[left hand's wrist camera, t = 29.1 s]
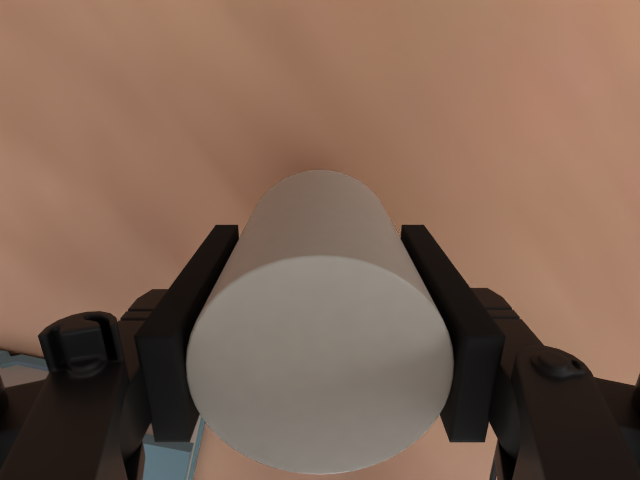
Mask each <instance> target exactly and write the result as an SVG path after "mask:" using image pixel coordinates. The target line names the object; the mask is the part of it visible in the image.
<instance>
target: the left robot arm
mask: <svg viewBox="0 0 640 480" xmlns="http://www.w3.org/2000/svg"><path fill="white" fill-rule="evenodd" d="M238 240H239V233H238V225H216V226H215V227H214V228H213V230H212V231H211V232H210V234H209V235H208V236H207V238H206V239H205V240H204V242H203V243H202V245H201V246H200V247H199V249H198V250H197V251H196V253H195V254H194V255H193V257H192V258H191V259H190V261H189V262H188V263H187V265H186V266H185V268H184V269H183V270H182V272H181V273H180V274H179V276H178V277H177V278H176V280H175V281H174V282H173V284H172V285H171V287H170V288H169V289H152V290H151V291H149V292H147V293H146V294H144V295H142V296H141V297H139V298H137V300H136V301H135V302H134V303H133V304H132V305H131V307H130V308H129V309H128V312H125V314H124V315H123V316H122V317H121V318H120V319H121V320H120V321H118V322H117V318H116V317H115V316H113V315H112V314H111V313H106V312H101V311H96V312H84V313H79V314H75V315H71V316H68V317H66V318H63V319H60V320H58V321H56V322H54V323H53V324H51V325H49V326H48V327H46V328H45V329H44V330H43V331H42V332H41V333H40V334H39V335H38V338H39V341H40V344H41V348H42V351H43V354H44V358H45V361H46V364H47V368H48V371H49V373H48V375H47V377H46V379H43V380H40V381H35V382H30V383H25V384H20V385H15V386H10V387H4V384H3V381H2V378H1V375H0V480H143V474H144V466H145V458H146V457H145V450H144V445H143V438H144V436H145V434H146V432H147V430H148V428H149V426H150V424H151V425H152V430H153V435H154V440H155V442H190V440H191V437H192V435H193V432H194V429H195V426H196V424H197V421H198V418H199V415H200V413H199V411H198V410H197V408H196V406H195V404H194V401H193V399H192V397H191V394H190V391H189V386H188V382H187V377H186V364H185V363H186V352H187V346H188V342H189V338H190V334H191V332H192V330H193V327H194V325H195V323H196V321H197V319H198V317H199V315H200V313H201V311H202V309H203V307H204V305H205V303H206V301H207V299H208V297H209V296H210V294H211V292H212V290H213V288H214V286H215V284H216V282H217V280H218V278H219V276H220V274H221V273H222V271H223V269H224V267H225V265H226V263H227V261H228V259H229V257H230V255H231V253H232V251H233V250H234V248H235V246H236V244H237V242H238ZM401 241H402V243H403V245H404V247H405V248H406V250H407V252H408V254H409V256H410V258H411V260H412V262H413V264H414V266H415V268H416V269H417V271H418V273H419V275H420V277H421V279H422V281H423V283H424V285H425V287H426V289H427V290H428V292H429V294H430V296H431V298H432V300H433V302H434V304H435V306H436V308H437V309H438V311H439V313H440V315H441V317H442V319H443V321H444V323H445V326H446V328H447V330H448V332H449V335H450V339H451V343H452V347H453V355H454V373H453V380H452V385H451V389H450V393H449V395H448V398H447V401H446V403H445V405H444V407H443V409H442V411H441V412H440V416H441V419H442V422H443V425H444V427H445V430H446V433H447V436H448V438H449V441H450V442H485V439H486V433H487V428H488V423H489V422H490V424H491V426H492V428H493V430H494V432H495V434H496V436H497V438H498V440H497V445H496V450H495V454H494V459H493V464H492V468H491V473H490V479H489V480H496V476H497V480H640V374H639V377H638V380H637V383H636V385H635V386H634V385H629V384H624V383H619V382H614V381H609V380H604V379H600V378H596V377H593V375H592V373H591V371H590V370H589V369H588V367H587V366H586V365H585V364H584V363H583V362H582V361H580V360H579V359H577V358H576V357H575V356H573V355H571V354H569V353H566V352H564V351H562V350H560V349H556V348H552V347H548V346H544V345H543V344H542V343H541V341H540V340H539V339H538V338H537V337H536V336H535V334H534V333H533V332H532V331H531V330H530V329H529V327H528V326H527V325H526V324H525V323H524V322H523V320H522V319H520V318H519V316H518V315H517V313H516V312H515V311H514V310H512V308H511V306H510V305H509V304H508V303H507V302H506V301H505V299H504V298H503V297H501V296H500V295H498V294H496V293H495V292H493V291H491V290H490V289H488V288H470V287H469V286H468V284H467V283H466V282H465V280H464V279H463V278H462V276H461V275H460V273H459V272H458V271H457V269H456V268H455V267H454V265H453V264H452V263H451V261H450V260H449V259H448V257H447V256H446V254H445V253H444V252H443V250H442V249H441V248H440V246H439V245H438V244H437V242H436V241H435V240H434V238H433V237H432V235H431V234H430V233H429V231H428V230H427V229H426V227H425V226H424V225H402V229H401Z"/></svg>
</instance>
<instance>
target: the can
mask: <svg viewBox="0 0 640 480" xmlns="http://www.w3.org/2000/svg"><path fill="white" fill-rule="evenodd" d="M185 364H186V377H187V382H188V386H189V391H190V394H191V397H192V399H193V401H194V404H195V406H196V408H197V410H198V411H199V413H200V415H201V417H202V418H203V420H204V421H205V422H206V423H207V425H208V426H209V427H210V428H211V430H212V431H213V432H214V433H215V434H216V435H217V436H218V437H219V438H220V439H221V440H223V441H224V442H225V443H227V444H228V445H229V446H230V447H232V448H233V449H235V450H236V451H238V452H240V453H241V454H243V455H244V456H246V457H248V458H250V459H253V460H255V461H257V462H259V463H261V464H264V465H267V466H270V467H273V468H276V469H281V470H285V471H289V472H296V473H303V474H337V473H344V472H350V471H355V470H359V469H363V468H367V467H369V466H372V465H375V464H378V463H381V462H383V461H385V460H387V459H389V458H391V457H393V456H395V455H397V454H398V453H400V452H402V451H403V450H405V449H407V448H408V447H409V446H410V445H412V444H413V443H414V442H416V441H417V440H418V439H419V438H420V437H421V436H422V435H423V434H424V433H425V432H426V431H427V430H428V429H429V428H430V427H431V425H432V424H433V423H434V422H435V420H436V419H437V418H438V416H439V414H440V412H441V411H442V409H443V407H444V405H445V403H446V401H447V398H448V395H449V393H450V389H451V385H452V380H453V373H454V355H453V347H452V343H451V339H450V335H449V332H448V330H447V328H446V326H445V323H444V321H443V319H442V317H441V315H440V313H439V311H438V309H437V308H436V306H435V304H434V302H433V300H432V298H431V296H430V294H429V292H428V290H427V289H426V287H425V285H424V283H423V281H422V279H421V277H420V275H419V273H418V271H417V269H416V268H415V266H414V264H413V262H412V260H411V258H410V256H409V254H408V252H407V250H406V248H405V247H404V245H403V243H402V241H401V239H400V237H399V235H398V233H397V231H396V229H395V228H394V226H393V224H392V222H391V220H390V218H389V216H388V214H387V212H386V210H385V208H384V207H383V205H382V203H381V202H380V200H379V199H378V197H377V196H376V195H375V194H374V193H373V191H372V190H370V189H369V188H368V187H367V186H366V185H365V184H363V183H362V182H360V181H359V180H357V179H355V178H353V177H351V176H349V175H346V174H343V173H340V172H336V171H331V170H308V171H303V172H299V173H296V174H293V175H290V176H288V177H286V178H284V179H282V180H281V181H279V182H278V183H276V184H275V185H274V186H272V187H271V188H270V189H269V190H268V191H267V192H266V193H265V194H264V196H263V197H262V198H261V199H260V201H259V202H258V204H257V206H256V207H255V209H254V211H253V213H252V215H251V217H250V219H249V221H248V223H247V225H246V227H245V228H244V230H243V232H242V234H241V236H240V238H239V240H238V242H237V244H236V246H235V248H234V250H233V251H232V253H231V255H230V257H229V259H228V261H227V263H226V265H225V267H224V269H223V271H222V273H221V274H220V276H219V278H218V280H217V282H216V284H215V286H214V288H213V290H212V292H211V294H210V296H209V297H208V299H207V301H206V303H205V305H204V307H203V309H202V311H201V313H200V315H199V317H198V319H197V321H196V323H195V325H194V327H193V330H192V332H191V334H190V338H189V342H188V346H187V352H186V363H185Z"/></svg>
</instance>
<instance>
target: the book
mask: <svg viewBox="0 0 640 480" xmlns="http://www.w3.org/2000/svg"><path fill="white" fill-rule="evenodd" d="M48 373H49V371H48V368H47V364H46V361H45V359H42V358H37V357H32V356H27V355H22V354H20V355H15V356H10V354H9V352H8V351H3V350H0V375H1V378H2V381H3V384H4V387H10V386H15V385H20V384H25V383H30V382H35V381H40V380H43V379H46V377H47V375H48ZM204 425H205V421H204V420H203V418H202V417H201V415H199V418H198V421H197V424H196V426H195V429H194V432H193V435H192V437H191V440H190V442H155V440H154V435H153V430H152V425H151V424H150V426H149V428H148V430H147V432H146V434H145V436H144V438H143V445H144V450H145V457H146V458H145V466H144V474H143V480H193V476H194V471H195V466H196V462H197V457H198V453H199V448H200V444H201V439H202V434H203V430H204Z"/></svg>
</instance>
